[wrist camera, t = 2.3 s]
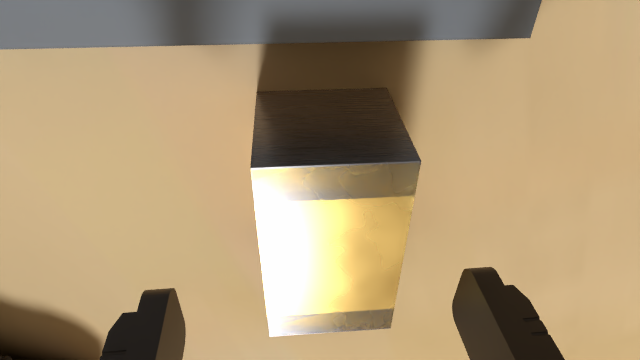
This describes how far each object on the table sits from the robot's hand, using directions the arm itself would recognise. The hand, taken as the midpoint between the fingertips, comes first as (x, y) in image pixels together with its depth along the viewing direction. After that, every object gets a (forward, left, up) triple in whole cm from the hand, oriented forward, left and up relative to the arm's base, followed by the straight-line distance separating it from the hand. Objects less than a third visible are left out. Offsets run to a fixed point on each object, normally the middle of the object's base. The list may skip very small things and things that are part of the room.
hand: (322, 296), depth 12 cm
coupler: (0, 0, -6) cm, 6 cm away
